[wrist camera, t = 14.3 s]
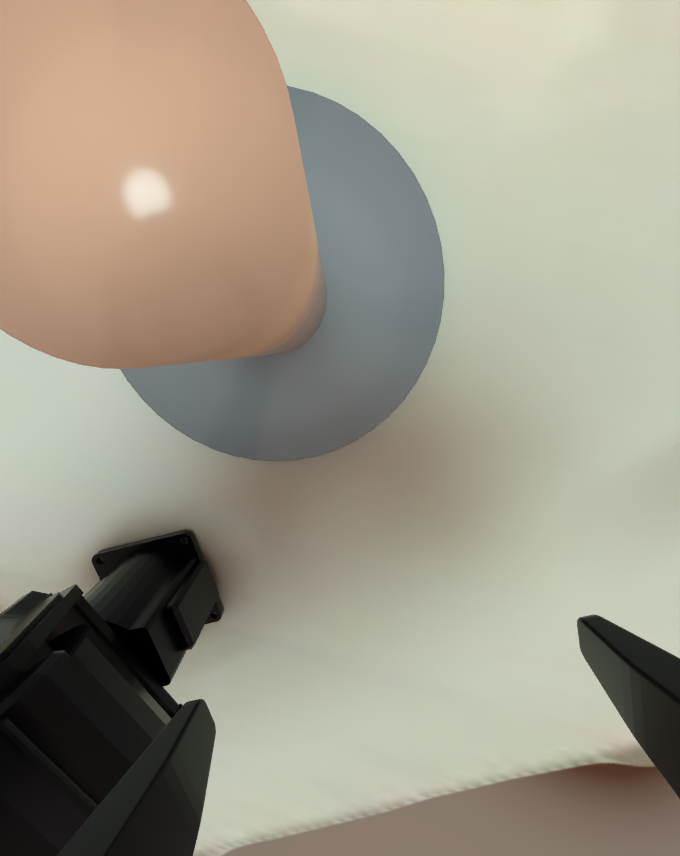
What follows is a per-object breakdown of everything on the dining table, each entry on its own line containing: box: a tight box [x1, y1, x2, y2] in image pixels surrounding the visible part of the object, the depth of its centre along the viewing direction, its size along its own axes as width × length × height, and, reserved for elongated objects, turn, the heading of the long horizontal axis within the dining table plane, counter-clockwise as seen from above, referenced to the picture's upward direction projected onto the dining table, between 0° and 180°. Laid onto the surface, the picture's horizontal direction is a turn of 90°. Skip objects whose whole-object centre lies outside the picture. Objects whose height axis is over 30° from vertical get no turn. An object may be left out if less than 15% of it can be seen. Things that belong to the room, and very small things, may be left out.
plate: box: [121, 86, 444, 461], centre depth 18 cm, size 18×18×1 cm
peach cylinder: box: [0, 0, 327, 369], centre depth 11 cm, size 6×6×13 cm
